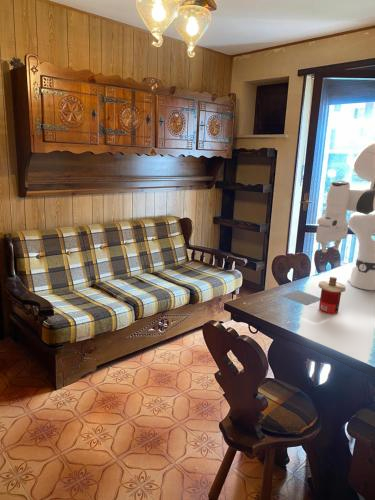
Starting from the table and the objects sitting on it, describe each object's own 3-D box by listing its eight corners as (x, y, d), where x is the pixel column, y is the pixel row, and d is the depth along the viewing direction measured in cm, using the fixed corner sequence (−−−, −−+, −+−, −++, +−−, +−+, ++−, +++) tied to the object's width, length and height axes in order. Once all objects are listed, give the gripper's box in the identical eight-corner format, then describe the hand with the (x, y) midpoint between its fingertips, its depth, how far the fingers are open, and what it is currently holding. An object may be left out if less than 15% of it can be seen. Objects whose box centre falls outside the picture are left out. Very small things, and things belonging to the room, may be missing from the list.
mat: (298, 290, 193) (298, 290, 193) (323, 299, 183) (323, 299, 183) (280, 296, 184) (280, 295, 184) (306, 306, 174) (306, 305, 174)
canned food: (339, 316, 165) (343, 291, 162) (319, 313, 166) (323, 289, 164) (336, 309, 172) (340, 286, 169) (317, 307, 174) (321, 283, 171)
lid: (326, 281, 174) (328, 272, 173) (350, 289, 166) (351, 279, 165) (313, 286, 167) (314, 276, 166) (337, 294, 159) (339, 283, 158)
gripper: (340, 216, 174) (335, 245, 178) (315, 220, 161) (310, 252, 165) (353, 218, 170) (348, 248, 173) (329, 223, 157) (324, 255, 160)
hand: (330, 250), depth 169 cm, fingers open, 8 cm apart
